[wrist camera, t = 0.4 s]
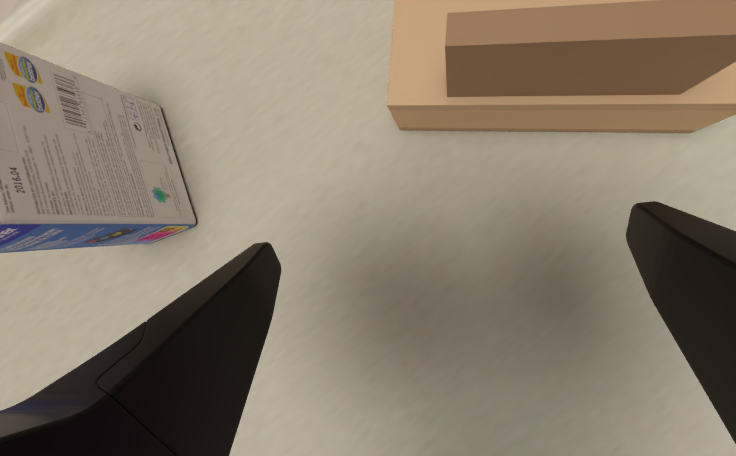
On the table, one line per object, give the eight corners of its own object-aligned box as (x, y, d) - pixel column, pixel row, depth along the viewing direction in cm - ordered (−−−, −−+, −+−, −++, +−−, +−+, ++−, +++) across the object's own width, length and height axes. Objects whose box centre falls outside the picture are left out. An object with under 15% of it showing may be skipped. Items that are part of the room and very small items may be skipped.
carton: (701, -7, 20) (760, -63, 16) (690, 132, 20) (746, 109, 16) (408, 11, 24) (399, -31, 20) (400, 130, 24) (390, 110, 20)
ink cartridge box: (105, 131, 29) (-226, 37, 15) (161, 102, 28) (-140, -30, 14) (140, 249, 28) (-173, 270, 14) (199, 224, 27) (-78, 219, 13)
